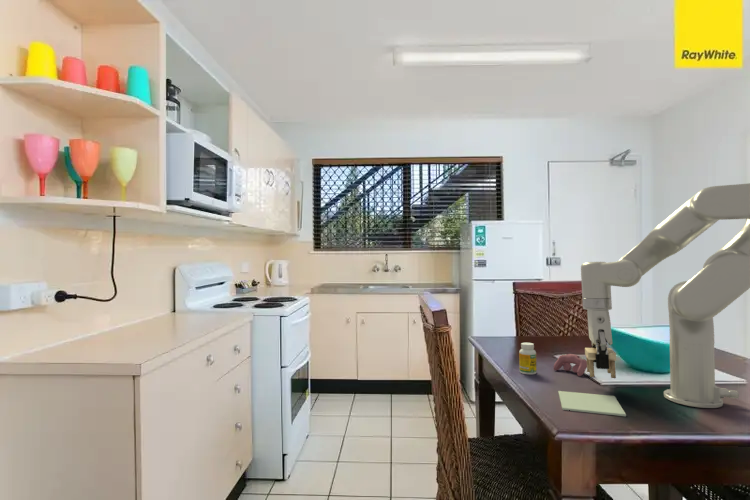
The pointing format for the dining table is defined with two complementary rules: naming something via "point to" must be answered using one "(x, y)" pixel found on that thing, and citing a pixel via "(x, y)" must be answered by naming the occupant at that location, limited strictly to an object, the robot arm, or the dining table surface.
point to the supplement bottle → (527, 359)
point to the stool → (591, 357)
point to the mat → (590, 403)
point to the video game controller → (571, 358)
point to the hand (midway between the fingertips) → (600, 364)
